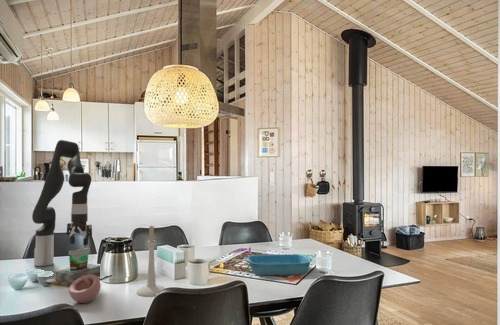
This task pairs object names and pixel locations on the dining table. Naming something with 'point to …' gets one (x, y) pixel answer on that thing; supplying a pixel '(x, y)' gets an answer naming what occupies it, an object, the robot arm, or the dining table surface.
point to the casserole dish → (279, 264)
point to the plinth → (75, 274)
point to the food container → (79, 258)
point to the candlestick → (150, 271)
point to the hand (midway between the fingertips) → (79, 244)
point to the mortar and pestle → (85, 288)
